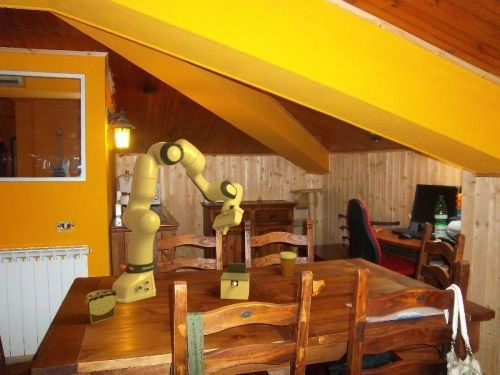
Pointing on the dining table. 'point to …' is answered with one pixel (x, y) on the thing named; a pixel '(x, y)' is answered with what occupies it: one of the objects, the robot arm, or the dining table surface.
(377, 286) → the dining table surface
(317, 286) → the slice of bread
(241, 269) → the plunger
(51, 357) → the dining table surface
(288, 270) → the disposable coffee cup
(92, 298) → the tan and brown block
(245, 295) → the block
